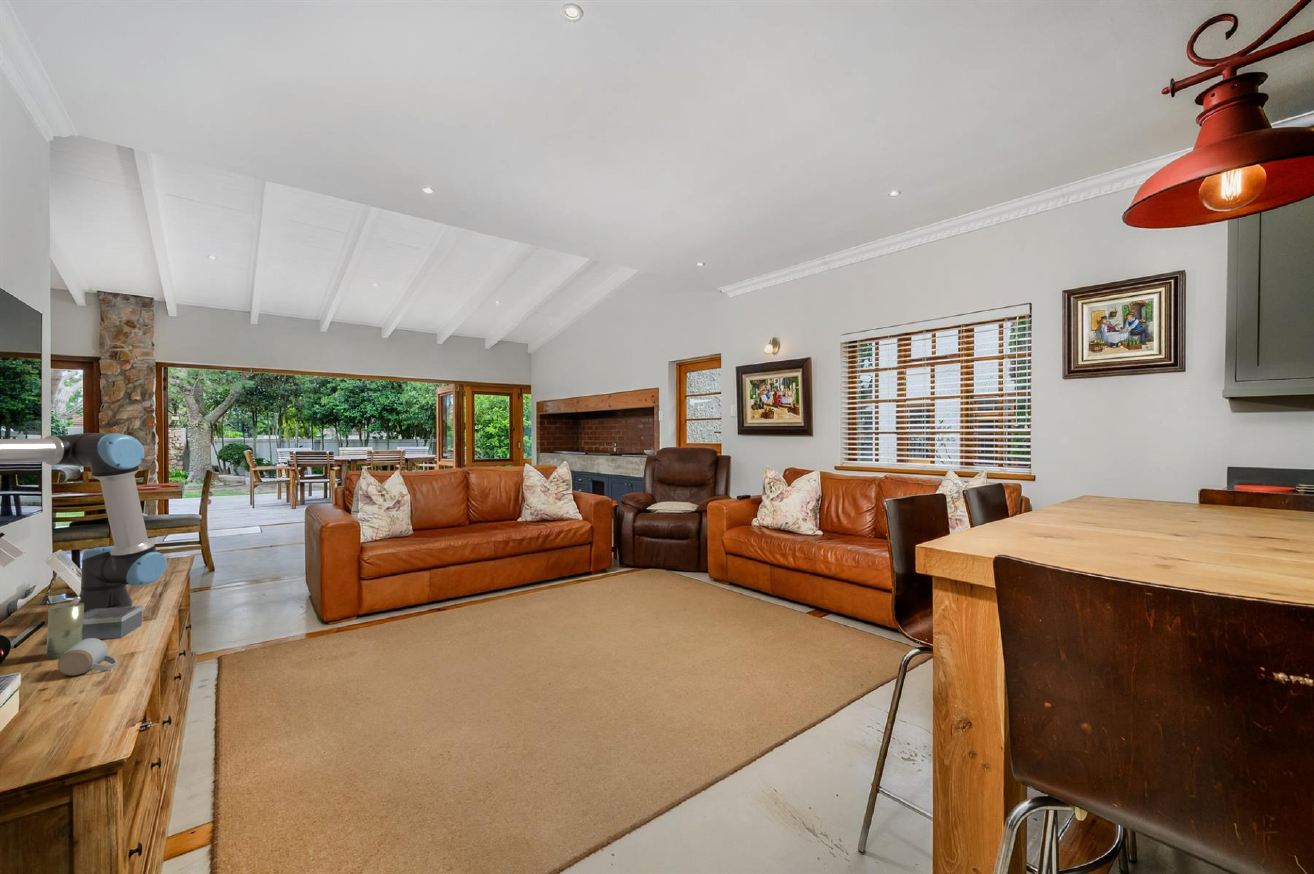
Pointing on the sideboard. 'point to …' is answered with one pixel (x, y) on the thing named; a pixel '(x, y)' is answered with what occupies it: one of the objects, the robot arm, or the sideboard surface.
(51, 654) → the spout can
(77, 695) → the sideboard surface
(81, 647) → the ceramic mug
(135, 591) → the sideboard surface
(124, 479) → the robot arm
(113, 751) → the sideboard surface
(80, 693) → the sideboard surface
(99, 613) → the grey rectangular tray
